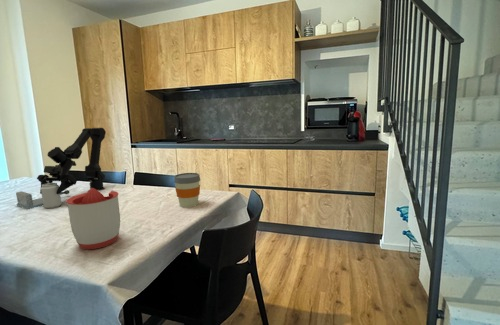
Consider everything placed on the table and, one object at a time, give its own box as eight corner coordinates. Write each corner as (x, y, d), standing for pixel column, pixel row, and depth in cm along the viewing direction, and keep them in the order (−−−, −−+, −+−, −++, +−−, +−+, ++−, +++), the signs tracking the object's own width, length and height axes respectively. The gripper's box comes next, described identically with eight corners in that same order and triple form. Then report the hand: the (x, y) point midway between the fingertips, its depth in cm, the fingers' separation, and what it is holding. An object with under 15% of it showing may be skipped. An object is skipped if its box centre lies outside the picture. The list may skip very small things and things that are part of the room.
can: (65, 204, 140) (62, 181, 138) (53, 209, 132) (50, 185, 130) (52, 204, 141) (48, 182, 139) (39, 208, 133) (36, 185, 131)
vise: (64, 194, 159) (62, 182, 157) (75, 197, 152) (73, 185, 151) (16, 205, 140) (14, 192, 139) (27, 209, 133) (24, 195, 132)
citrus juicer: (132, 230, 105) (126, 180, 101) (111, 252, 87) (103, 193, 84) (91, 231, 104) (85, 182, 101) (62, 254, 87) (53, 195, 84)
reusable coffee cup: (195, 209, 127) (193, 178, 124) (171, 208, 129) (169, 177, 127) (205, 201, 139) (203, 172, 136) (182, 200, 141) (180, 172, 139)
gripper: (37, 159, 138) (19, 185, 129) (69, 159, 135) (54, 185, 127) (52, 171, 147) (37, 196, 138) (83, 171, 144) (69, 197, 136)
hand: (49, 193), depth 134 cm, fingers open, 9 cm apart
